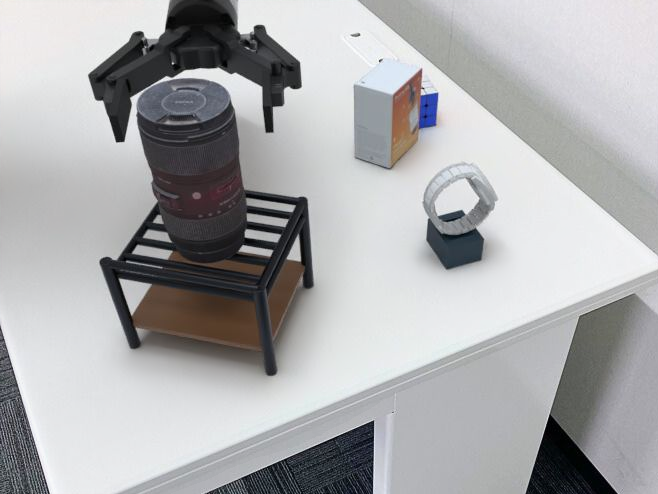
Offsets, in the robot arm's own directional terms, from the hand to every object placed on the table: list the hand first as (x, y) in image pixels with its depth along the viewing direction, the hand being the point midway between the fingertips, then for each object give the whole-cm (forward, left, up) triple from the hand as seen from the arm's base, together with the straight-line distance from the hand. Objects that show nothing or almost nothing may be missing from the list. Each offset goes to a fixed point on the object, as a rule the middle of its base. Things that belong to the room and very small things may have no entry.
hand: (192, 124), depth 67 cm
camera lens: (+2, -4, -10) cm, 11 cm away
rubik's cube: (+13, +38, -20) cm, 45 cm away
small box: (+11, +30, -20) cm, 38 cm away
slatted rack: (+1, -4, -20) cm, 21 cm away
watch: (+23, +12, -20) cm, 33 cm away
